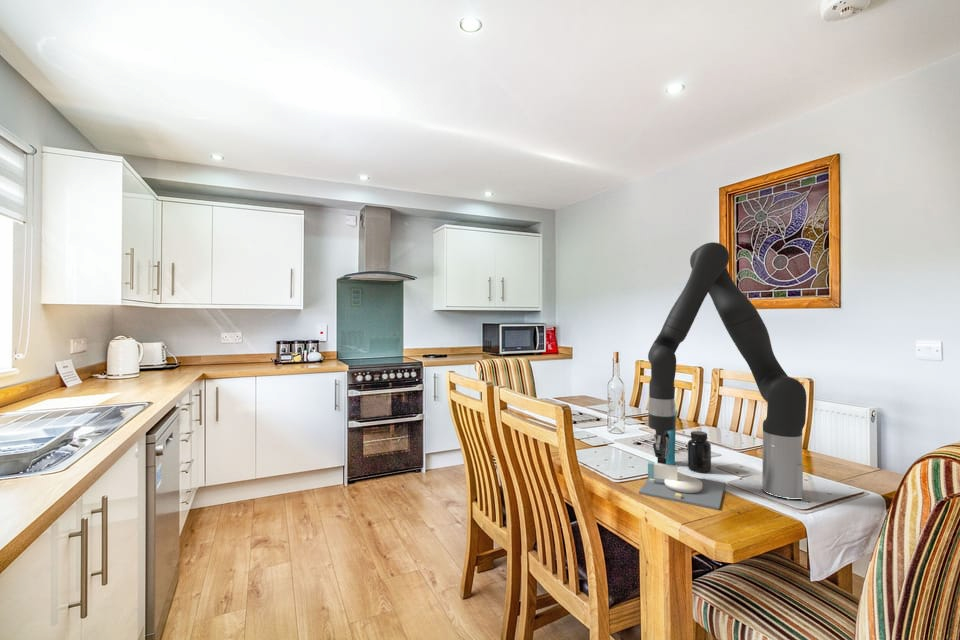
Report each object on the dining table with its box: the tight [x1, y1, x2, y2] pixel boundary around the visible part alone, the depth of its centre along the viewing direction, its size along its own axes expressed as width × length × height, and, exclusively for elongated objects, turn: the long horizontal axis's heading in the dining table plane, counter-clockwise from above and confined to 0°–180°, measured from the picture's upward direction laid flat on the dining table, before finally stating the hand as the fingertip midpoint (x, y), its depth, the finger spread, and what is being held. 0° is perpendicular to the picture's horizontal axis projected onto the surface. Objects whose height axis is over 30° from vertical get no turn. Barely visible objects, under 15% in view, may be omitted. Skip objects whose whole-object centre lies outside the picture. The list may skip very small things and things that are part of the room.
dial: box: [647, 461, 702, 493], centre depth 131 cm, size 14×10×6 cm
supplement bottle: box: [687, 430, 712, 474], centre depth 146 cm, size 7×7×12 cm
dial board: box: [638, 473, 726, 511], centre depth 130 cm, size 20×20×1 cm
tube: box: [666, 407, 678, 465], centre depth 152 cm, size 7×5×19 cm, turn 39°
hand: (661, 469), depth 135 cm, fingers closed
